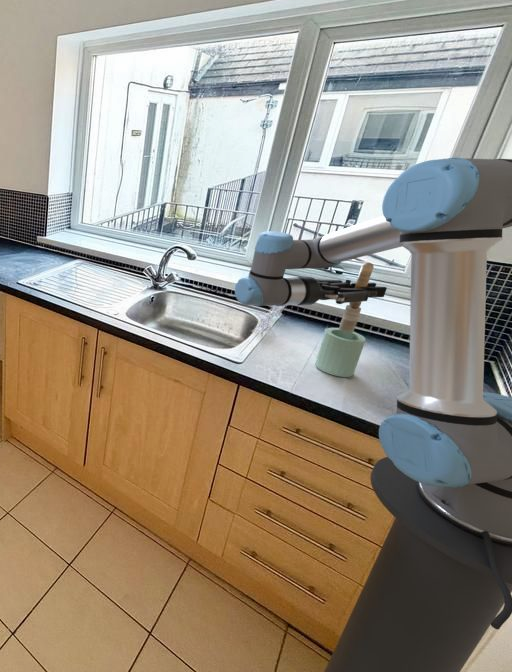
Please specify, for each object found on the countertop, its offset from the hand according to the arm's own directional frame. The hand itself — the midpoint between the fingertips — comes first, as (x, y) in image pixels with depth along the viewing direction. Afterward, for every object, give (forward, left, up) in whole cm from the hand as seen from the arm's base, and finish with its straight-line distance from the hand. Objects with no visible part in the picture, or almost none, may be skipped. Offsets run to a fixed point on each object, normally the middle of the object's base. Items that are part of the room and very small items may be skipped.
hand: (378, 289), depth 113 cm
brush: (-4, +4, -12) cm, 13 cm away
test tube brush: (+15, +23, -24) cm, 37 cm away
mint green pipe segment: (-4, +4, -24) cm, 25 cm away
